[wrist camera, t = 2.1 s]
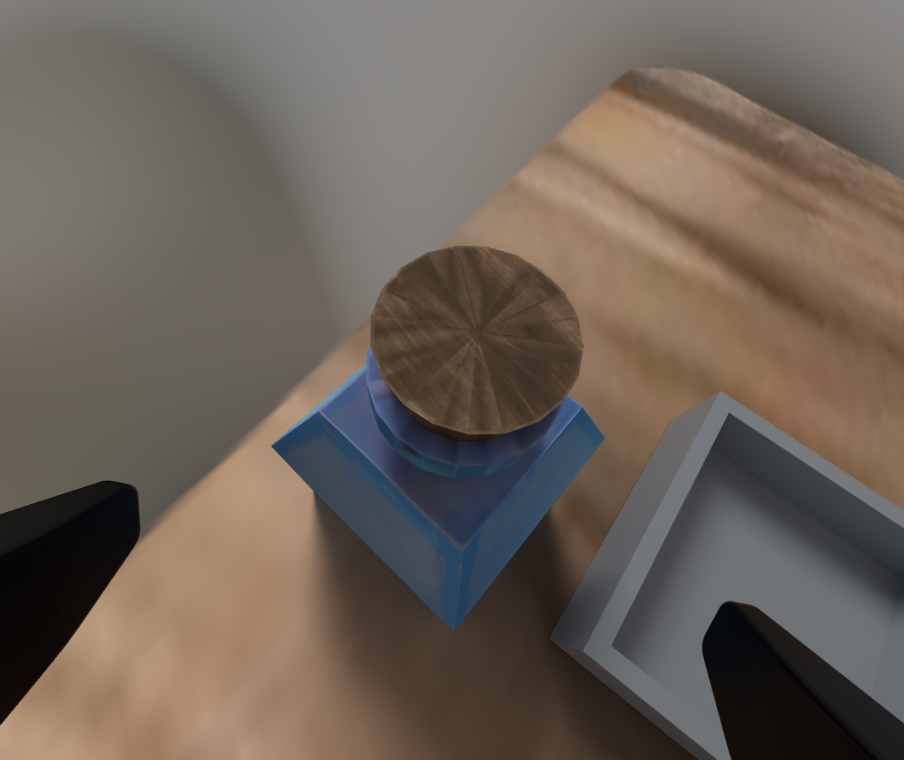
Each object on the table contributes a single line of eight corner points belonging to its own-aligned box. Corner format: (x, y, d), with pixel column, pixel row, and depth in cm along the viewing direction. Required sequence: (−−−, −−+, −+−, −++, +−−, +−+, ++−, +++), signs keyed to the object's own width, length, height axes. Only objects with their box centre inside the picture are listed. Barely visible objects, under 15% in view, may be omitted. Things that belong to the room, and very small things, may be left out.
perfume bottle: (542, 483, 18) (752, 332, 7) (435, 614, 16) (509, 681, 5) (427, 382, 19) (460, 124, 9) (313, 491, 17) (161, 330, 6)
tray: (823, 861, 14) (936, 936, 11) (548, 638, 16) (582, 650, 13) (900, 575, 18) (999, 573, 15) (671, 420, 20) (720, 390, 17)
